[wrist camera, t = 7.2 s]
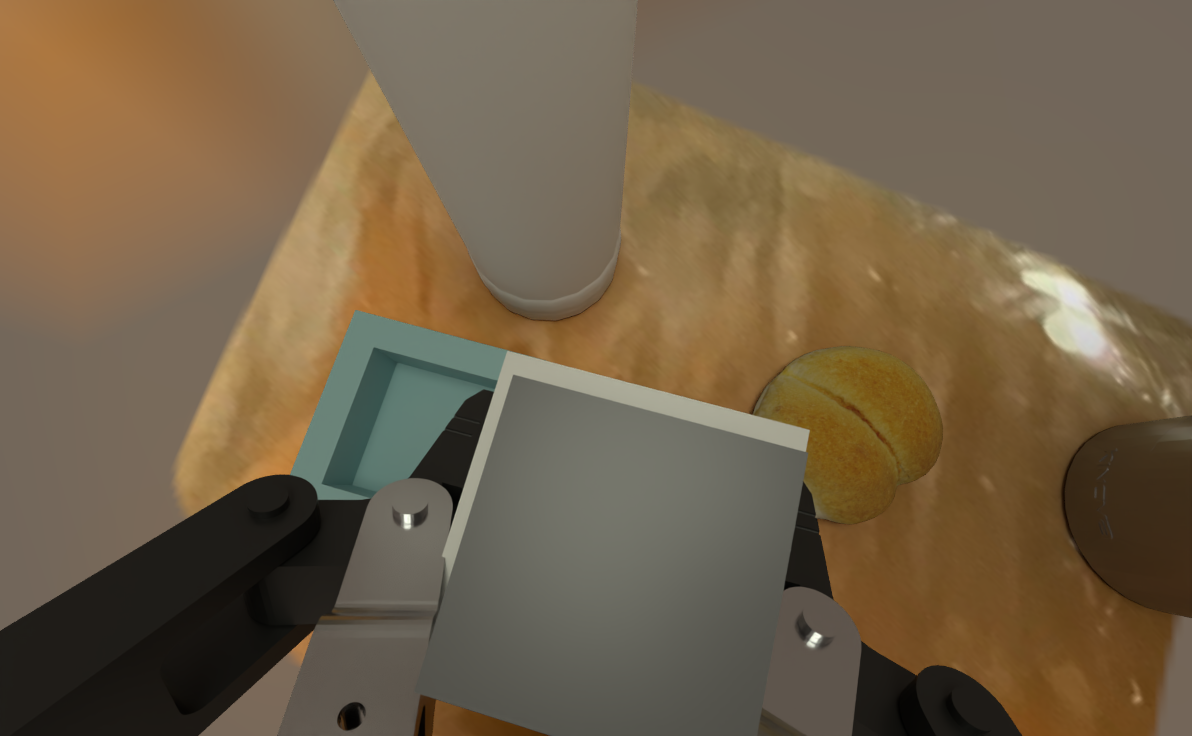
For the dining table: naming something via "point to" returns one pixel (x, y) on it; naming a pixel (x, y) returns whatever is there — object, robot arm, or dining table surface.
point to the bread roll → (856, 427)
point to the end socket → (388, 404)
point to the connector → (615, 560)
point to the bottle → (515, 131)
